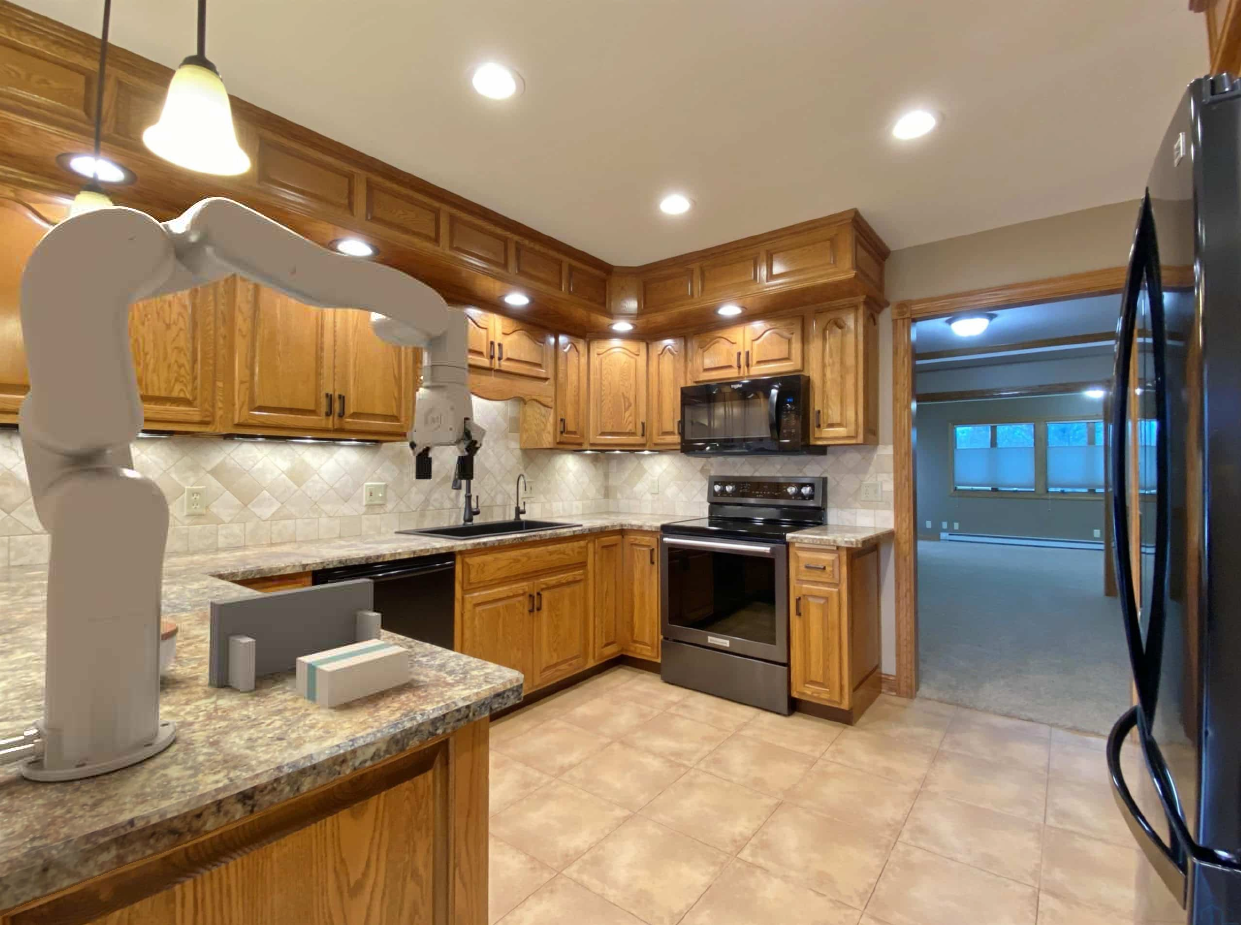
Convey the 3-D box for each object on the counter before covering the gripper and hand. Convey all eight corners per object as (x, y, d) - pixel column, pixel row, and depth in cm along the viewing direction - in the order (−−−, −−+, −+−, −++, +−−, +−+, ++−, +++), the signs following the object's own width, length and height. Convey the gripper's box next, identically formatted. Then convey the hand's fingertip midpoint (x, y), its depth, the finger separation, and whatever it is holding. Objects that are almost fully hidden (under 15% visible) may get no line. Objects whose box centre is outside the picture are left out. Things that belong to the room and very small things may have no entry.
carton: (327, 709, 76) (328, 671, 76) (295, 693, 81) (296, 658, 81) (408, 683, 85) (408, 649, 86) (375, 670, 91) (375, 638, 91)
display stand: (230, 695, 80) (232, 609, 80) (208, 682, 84) (210, 601, 85) (388, 652, 99) (389, 583, 99) (363, 644, 104) (364, 578, 104)
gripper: (392, 380, 99) (391, 479, 99) (468, 373, 91) (467, 480, 91) (425, 386, 106) (424, 479, 106) (499, 380, 98) (497, 480, 98)
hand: (444, 479), depth 98 cm, fingers open, 9 cm apart
